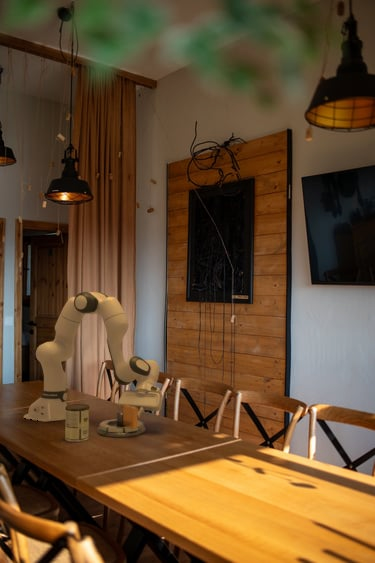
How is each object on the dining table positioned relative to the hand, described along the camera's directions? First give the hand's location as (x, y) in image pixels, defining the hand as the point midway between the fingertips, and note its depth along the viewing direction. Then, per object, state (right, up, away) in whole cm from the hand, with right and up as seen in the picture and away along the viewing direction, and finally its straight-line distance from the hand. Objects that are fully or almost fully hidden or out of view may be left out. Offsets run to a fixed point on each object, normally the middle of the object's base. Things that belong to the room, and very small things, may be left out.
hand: (135, 416), depth 244 cm
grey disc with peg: (-7, -8, +4) cm, 11 cm away
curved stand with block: (-6, -6, +3) cm, 9 cm away
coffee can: (-25, -8, -9) cm, 27 cm away
